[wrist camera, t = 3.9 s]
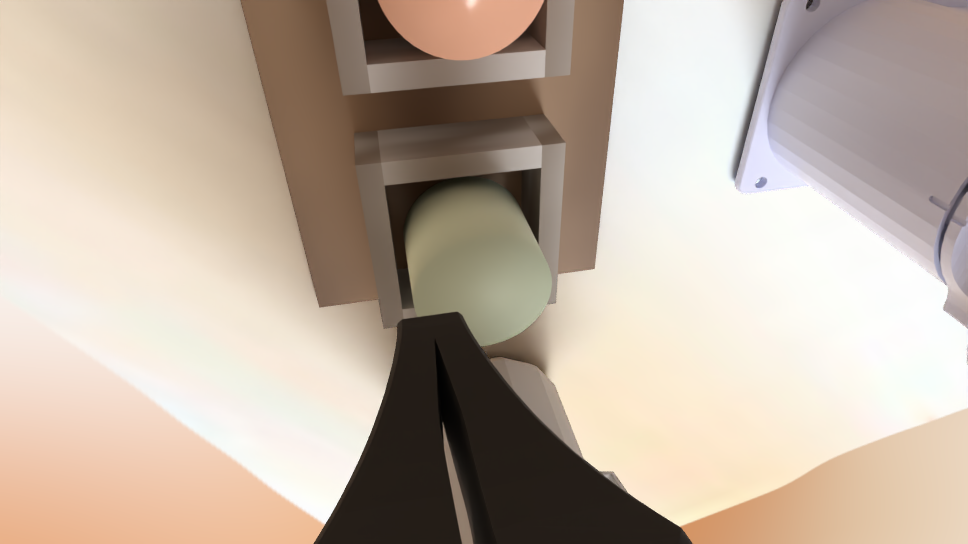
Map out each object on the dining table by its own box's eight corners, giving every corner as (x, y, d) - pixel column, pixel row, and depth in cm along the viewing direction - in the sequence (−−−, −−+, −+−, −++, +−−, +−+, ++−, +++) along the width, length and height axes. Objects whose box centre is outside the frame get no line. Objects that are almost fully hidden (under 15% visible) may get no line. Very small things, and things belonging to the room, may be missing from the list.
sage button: (523, 169, 20) (555, 226, 17) (521, 271, 23) (549, 336, 20) (396, 184, 19) (406, 245, 16) (409, 286, 22) (420, 355, 19)
